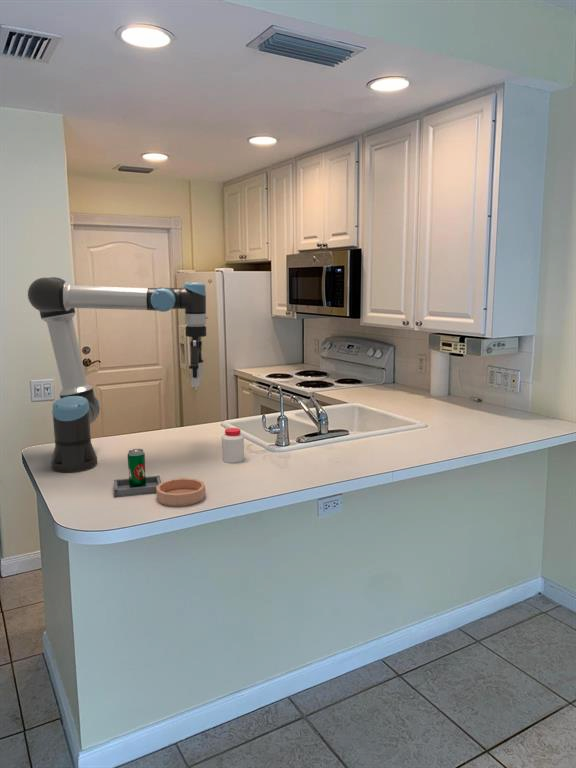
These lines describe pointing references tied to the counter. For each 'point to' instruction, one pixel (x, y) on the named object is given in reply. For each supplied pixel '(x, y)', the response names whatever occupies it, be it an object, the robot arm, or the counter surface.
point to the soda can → (136, 468)
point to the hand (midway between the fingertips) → (196, 383)
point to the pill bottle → (232, 446)
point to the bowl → (180, 492)
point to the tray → (124, 490)
